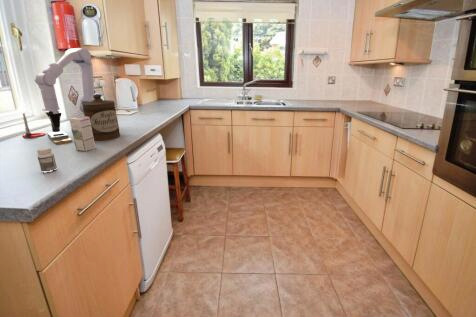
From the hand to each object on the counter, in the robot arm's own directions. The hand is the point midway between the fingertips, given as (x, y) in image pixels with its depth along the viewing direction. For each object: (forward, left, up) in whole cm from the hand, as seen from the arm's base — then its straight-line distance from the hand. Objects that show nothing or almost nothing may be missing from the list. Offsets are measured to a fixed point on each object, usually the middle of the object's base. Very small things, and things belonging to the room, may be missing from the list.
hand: (56, 126), depth 138 cm
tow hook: (+8, -18, -7) cm, 21 cm away
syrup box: (-5, +29, -7) cm, 30 cm away
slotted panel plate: (0, 0, -7) cm, 7 cm away
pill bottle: (+12, +48, -7) cm, 50 cm away
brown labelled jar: (-18, +13, -7) cm, 23 cm away
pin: (0, -1, -2) cm, 3 cm away
